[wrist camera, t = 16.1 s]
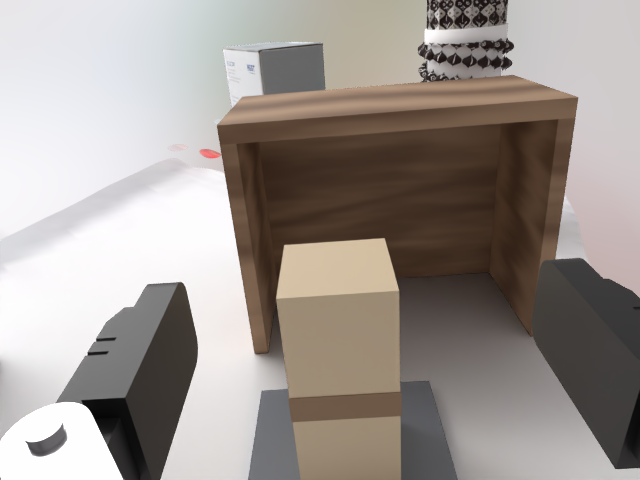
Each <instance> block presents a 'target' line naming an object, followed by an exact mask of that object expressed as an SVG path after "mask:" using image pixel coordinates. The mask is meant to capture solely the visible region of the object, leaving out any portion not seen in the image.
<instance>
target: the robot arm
mask: <svg viewBox="0 0 640 480" xmlns="http://www.w3.org/2000/svg"><path fill="white" fill-rule="evenodd" d="M532 331H533V336H534V339H535V342H536V345H537V346H538V348H539V350H540V351H541V353H542V354H543V356H544V357H545V359H546V361H547V362H548V364H549V365H550V367H551V368H552V370H553V372H554V373H555V375H556V376H557V378H558V379H559V381H560V383H561V384H562V386H563V387H564V389H565V390H566V392H567V394H568V395H569V397H570V398H571V400H572V401H573V403H574V405H575V406H576V408H577V409H578V411H579V412H580V414H581V416H582V417H583V419H584V420H585V422H586V423H587V425H588V427H589V428H590V430H591V431H592V433H593V434H594V436H595V438H596V439H597V441H598V442H599V444H600V445H601V447H602V449H603V450H604V452H605V453H606V455H607V456H608V458H609V460H610V461H611V463H612V464H613V466H614V467H615V469H628V468H640V298H639V297H638V296H637V295H636V294H635V293H634V292H633V291H631V290H629V289H627V288H625V287H623V286H621V285H620V284H618V283H616V282H614V281H612V280H610V279H603V278H602V277H601V276H600V275H599V274H598V273H597V272H596V271H595V270H594V269H593V268H592V267H591V266H590V265H589V264H588V263H587V262H586V261H585V260H583V259H581V258H573V259H557V260H545V261H544V262H543V263H542V264H541V266H540V270H539V276H538V282H537V288H536V295H535V301H534V308H533V314H532ZM197 356H198V344H197V336H196V332H195V327H194V323H193V318H192V314H191V309H190V305H189V300H188V296H187V291H186V288H185V286H184V284H183V283H182V282H176V283H160V284H148V285H147V286H146V287H145V289H144V290H143V292H142V294H141V296H140V297H139V299H138V301H137V303H136V304H135V306H134V307H127V308H123V309H122V310H121V311H120V312H119V313H117V314H116V315H115V316H114V317H112V318H111V319H110V320H109V321H107V322H106V324H105V325H104V327H103V329H102V330H101V332H100V333H99V335H98V337H97V338H96V342H94V343H93V344H92V346H91V348H90V349H89V351H88V356H85V357H84V359H83V360H82V362H81V364H80V365H79V367H78V368H77V370H76V372H75V373H74V375H73V376H72V378H71V380H70V381H69V383H68V384H67V386H66V388H65V389H64V391H63V392H62V394H61V395H60V397H59V399H58V400H57V402H56V403H55V404H53V405H49V406H46V407H44V408H41V409H39V410H36V411H35V412H33V413H31V414H29V415H27V416H26V417H24V418H23V419H21V420H20V421H19V422H17V423H16V424H15V425H14V426H13V427H12V428H11V429H10V430H9V431H8V432H7V433H6V434H5V435H4V437H3V438H2V440H1V442H0V480H160V479H161V475H162V472H163V469H164V466H165V463H166V460H167V456H168V453H169V450H170V447H171V444H172V440H173V437H174V434H175V431H176V428H177V424H178V421H179V418H180V415H181V412H182V409H183V405H184V402H185V399H186V396H187V393H188V389H189V386H190V383H191V380H192V377H193V374H194V370H195V367H196V363H197Z"/></svg>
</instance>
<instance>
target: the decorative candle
mask: <svg viewBox="0 0 640 480" xmlns="http://www.w3.org/2000/svg"><path fill="white" fill-rule="evenodd" d="M507 6H508V0H427V29H425V42H424V43H423V44H422V45H420V46H419V47H418V53H419V55H420V56H422V57H424V58H426V59H427V61H426V62H425V63H423V64H422V66H421V67H420V68H419V73H420V75H421V77H423V78H424V80H423V81H422V82H433V81H445V80H458V79H470V78H483V77H495V76H501V68H502V70H503V69H507V68H508V67H510V66H511V65H512V61H511V60H509V59H508V58H507V57H506V58H505V56H504V58H502V54H504V53H508V52H509V51H511V50H512V49H513V48H514V45H513V43H512V42H510V41H509V40H508V39H507V29H508V23H506V18H507ZM504 40H506V41H504ZM426 50H427V51H426Z"/></svg>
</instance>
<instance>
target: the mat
mask: <svg viewBox="0 0 640 480" xmlns="http://www.w3.org/2000/svg"><path fill="white" fill-rule="evenodd" d="M400 388H401V393H402V416H400V420H401V480H458V479H457V476H456V472H455V469H454V466H453V462H452V459H451V455H450V452H449V448H448V445H447V442H446V438H445V435H444V431H443V428H442V424H441V421H440V418H439V414H438V411H437V407H436V404H435V401H434V397H433V394H432V390H431V387H430V383H429V381H417V382H400ZM288 397H289V391H288V389H283V390H267V391H262V392H261V399H260V406H259V412H258V419H257V425H256V432H255V438H254V445H253V451H252V458H251V465H250V471H249V478H248V480H300V473H299V465H298V458H297V450H296V443H295V436H294V428H293V422H291V415H290V408H289V401H288Z"/></svg>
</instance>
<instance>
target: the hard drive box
mask: <svg viewBox="0 0 640 480" xmlns="http://www.w3.org/2000/svg"><path fill="white" fill-rule="evenodd" d="M223 54H224V61H225V67H226V73H227V80H228V88H229V94H230V101H231V107H232V108H233V107H234V106H235V104H236V103H237V102H238V101H239V100H240V99H241V98H242V97H244V96H257V95H269V94H282V93H295V92H307V91H320V90H325V76H324V60H323V43H315V42H270V43H260V44H250V45H240V46H230V47H224V48H223Z"/></svg>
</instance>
